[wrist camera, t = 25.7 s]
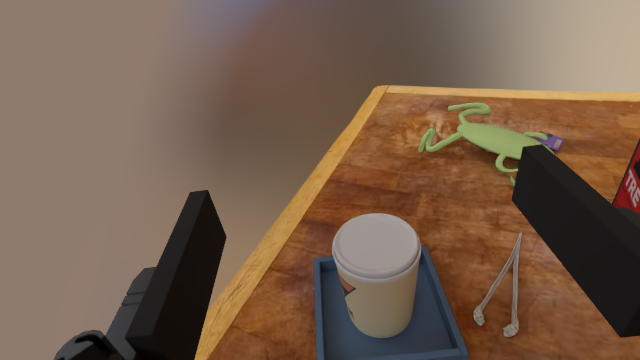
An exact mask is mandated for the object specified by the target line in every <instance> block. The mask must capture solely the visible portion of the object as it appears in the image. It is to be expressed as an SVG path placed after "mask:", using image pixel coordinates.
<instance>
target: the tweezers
mask: <svg viewBox="0 0 640 360" xmlns="http://www.w3.org/2000/svg"><path fill="white" fill-rule="evenodd" d="M521 238H522V233H521V232H520V234H519V236H518V239H517V241H516V244H515V246H514V248H513V251H512V253H511V255H510V257H509V258H508V260H507V262H506V264H505V266H504V268H503V269H502V271H501V272H500V274H499V275H498V277H497V279H496V280H495V282H494V283H493V285H492V286H491V288H490V289H489V292H488V293H487V295H486V297H485V298H484V300H483V301H482V303H481V304H480V305H478V306H477V307H476V308H475V310H474V312H473V313H474V314H473V317H474V320H475V322H476V323H477V324H478V325H479V326H482V324H483V323H484V322H485V321H484V316H483V314H482V311H483V310H484V308H485V307H486V305H487V303H488V302H489V300H490V299H491V297H492V295H493V293H494V291H495V290H496V288H497V287H498V285H499V284H500V282H501V280H502V279H503V277H504V275H505V274H506V272H507V270H508V269H509V267H510V265H511V263H512V262H513V259H514V263H513V300H512V317H511V324H509V325H508V326H506V327H505V328H503V331H504V336H506V337H511V336H513V335H515V334H516V333H517V331H518V330H519V322H518V320H517V298H518V261H519V251H520V244H521ZM486 298H487V299H486ZM485 299H486V301H485ZM484 301H485V302H484Z"/></svg>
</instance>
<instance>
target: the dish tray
mask: <svg viewBox="0 0 640 360" xmlns="http://www.w3.org/2000/svg"><path fill="white" fill-rule="evenodd" d="M314 282H315V317H316V352H317V360H468V357H469V353H468V350H467V348H466V345H465V343H464V340H463V338H462V335H461V332H460V330H459V327H458V325H457V322H456V320H455V317H454V315H453V312H452V310H451V307H450V305H449V302H448V300H447V297H446V295H445V292H444V290H443V287H442V284H441V282H440V279H439V277H438V274H437V272H436V269H435V267H434V264H433V262H432V259H431V257H430V254H429V252H428V249H427V247H426V245H421V256H420V260H419V266H418V274H417V282H416V290H415V297H414V305H413V311H412V317H411V320H410V322H409V324H408V326H407V327H406V328H405V329H404V330H403V331H402V332H401V333H399V334H397V335H395V336H393V337H389V338H375V337H371V336H368V335H366V334H364V333H362V332H361V331H360V330H359V329H358V328H357V327H356V326H355V325H354V324H353V322H352V320H351V318H350V315H349V311H348V308H347V304H346V301H345V297H344V293H343V289H342V286H341V282H340V278H339V274H338V270H337V266H336V263H335V261H334V258H333V256H329V257H321V258H314Z"/></svg>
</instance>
